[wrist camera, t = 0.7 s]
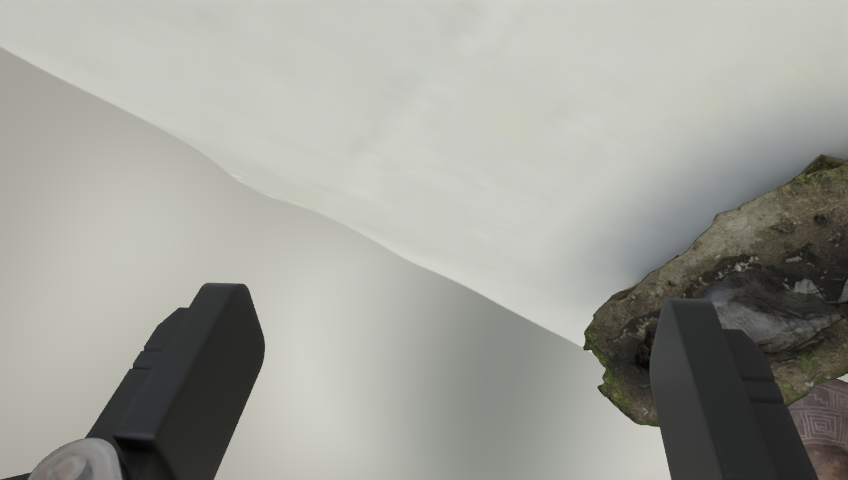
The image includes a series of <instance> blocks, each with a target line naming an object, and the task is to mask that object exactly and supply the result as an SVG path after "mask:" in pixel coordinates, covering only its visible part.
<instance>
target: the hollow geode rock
mask: <svg viewBox="0 0 848 480" xmlns="http://www.w3.org/2000/svg"><path fill="white" fill-rule="evenodd" d="M666 298H680V299H709V300H710V301H711V302H712V303H713V305H714V307H715V310H716V312H717V315H718V318H719V320H720V323H721V326H722V328H723V329H741V330H743V331H744V332H745V333H746V334H747V335H748V336H749V337H750V338H751V339H752V340H753V341H754V342H755V343H756V344H757V346H758V347H759V348H760V349H761V350H762V351H763V352H764V353H765V356H766V358H767V360H768V363H769V365H770V367H771V370H772V372H773V374H774V377H775V383H777V384H778V386H779V388H780V391H781V393H782V395H783V398H784V404H786V405H787V407H788V406H790V405H791V404H793V403H794V402H796V401H798V400H800V399H802V398H804V397H805V396H807V395H808V394H809V393H810V392H811V391H812V389H813V388H815V387H816V386H818V385H820V384H822V383H824V382H827V381H830V380H833V379H836V378H838V377H841V376H844V375H845V374H848V162H846V161H843V160H839V159H834V158H830V157H827V156H824V155H822V154H821V155H820V156H819V157H818V158H816V159H815V160H814V161H813V162H812V163H811V164H810V165H809V166H807V167H806V168H805V169H804V170H803V172H802V173H801V174H800V175H799V176H797V177H795V178H794V179H793V180H791V181H790V182H788V183H786V184H784V185H782V186H779V187H777V188H776V189H774V190H772V191H771V192H768V193H766V194H765V195H763V196H762V197H761V198H758V199H754V200H752V201H750V202H747V203H744V204H742V205H741V206H740V207H738V208H736V209H734V210H730V211H726V212H723V213H720V214H717V215H716V217H715V218H714V221H713V223H712V225H711V226H710V227H709V228H708V229H707V230H706V231H705V232H704V233H703V234H702V235H701V236H700V237H699V238H697V239H696V240H695V242H694V243H693V244H692V246H691V247H690V248H689V250H688V251H686V252H685V253H683V254H682V255H677V256H676V257H675V258H674V259H672V260H671V261H669V262H668V263H667V264H666V265H664V266H663V267H661V268H659V269H658V270H656V271H654V272H652V273H650V274H648V275H647V276H646V278H645V279H643V280H642V281H641V282H640V283H638V284H637V285H636V286H634V287H633V288H630V289H628V290H624V291H621V292H618V293H616V294H614V295H612V297H611V298H610V299H609V300H608V301H607V302H606V303H604V304H603V305H602V306H601V307H600V308H599V309H598V310H597V311H596V312H595V314H594V315H593V317H594V319H593V320H592V322H591V323H590V325H589V326H588V328H587V329H586V330H585V333H584V335H585V338H586V341H585V345H584V347H583V348H584V350H592V352H593V354H594V355H595V356H596V357H597V358H598V359H599V361H600V363H601V364H602V365H603V366H604V367H605V368H606V371H605V373H604V375H603V377H602V378H603V380H604V382H605V383H603V384H602V385H600V386H598V389H599V390H600V392H601V393H602V394H603V395H604V396H605V397H607V398H608V399H609V400H610V401H611V402H612V403H613V405H615V406H616V407H617V408H618V409H619V410H620V411H621V412H622V413H624V414H625V415H626V416H627V417H629V418H630V419H631V420H632V421H633V422H635V423H637V424H640V425H649V426H656V427H660V425H659V421H658V416H657V412H656V407H655V403H654V398H653V394H652V389H651V383H650V356H651V351H652V347H653V342H654V338H655V334H656V329H657V325H658V321H659V317H660V312H661V308H662V304H663V302H664V300H665V299H666Z"/></svg>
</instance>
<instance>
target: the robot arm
mask: <svg viewBox="0 0 848 480" xmlns="http://www.w3.org/2000/svg"><path fill="white" fill-rule="evenodd" d="M264 352H265V342H264V336H263V333H262V329H261V326H260V323H259V320H258V317H257V314H256V311H255V308H254V304H253V301H252V299H251V295H250V292H249V289H248V288H247V286H246V285H244V284H231V283H206V284H204V285H203V286H202V287H201V289H200V290H199V292H198V294H197V295H196V297H195V298H194V300H193V302H192V303H191V305H190V307H189V308H178V309H177V310H176V311H175V312H173V313H172V314H171V315H170V316H169V317H168V318H166V319H165V320H164V321H163V322H162V323H160V324H159V325H158V326H157V328H156V329H155V331H154V332H153V334H152V335H151V337H150V339H149V340H148V341H147V343H146V345H145V346H144V351H141V352H140V354H139V355H138V357H137V359H136V360H135V362H134V363H133V368H132V369H129V371H128V373H127V374H126V376H125V377H124V379H123V381H122V382H121V383H120V385H119V387H118V388H117V390H116V391H115V393H114V394H113V396H112V398H111V399H110V401H109V402H108V404H107V405H106V407H105V408H104V410H103V411H102V413H101V414H100V416H99V418H98V419H97V421H96V423H95V424H94V425H93V427H92V429H91V430H90V432H89V433H88V434H87V436H86V437H85V438H84V439H80V440H76V441H73V442H71V443H68V444H65V445H63V446H61V447H59V448H58V449H56V450H55V451H53V452H52V453H51V454H49V455H48V456H46V457H45V458H44V459H43V460H42V461H41V462H40V463H39V464H38V465H37V467H35V469H34V470H33V471H32V472H31V473H27V474H23V475H19V476H14V477H10V478H6V479H1V480H214V478H215V475H216V473H217V471H218V468H219V466H220V464H221V461H222V459H223V456H224V454H225V452H226V449H227V447H228V445H229V442H230V440H231V437H232V435H233V433H234V431H235V428H236V426H237V424H238V421H239V419H240V416H241V414H242V412H243V409H244V407H245V405H246V402H247V400H248V398H249V395H250V393H251V390H252V388H253V386H254V383H255V381H256V379H257V377H258V374H259V372H260V369H261V367H262V364H263V359H264ZM650 383H651V389H652V394H653V398H654V403H655V407H656V412H657V416H658V421H659V425H660V430H661V434H662V439H663V443H664V448H665V453H666V457H667V462H668V466H669V471H670V475H671V480H819V479H818V477H817V475H816V472H815V470H814V468H813V465H812V463H811V461H810V458H809V456H808V454H807V451H806V449H805V447H804V444H803V442H802V440H801V437H800V435H799V433H798V430H797V428H796V426H795V423H794V421H793V419H792V416H791V414H790V412H789V409H788V407H787V405H786V404H784V398H783V395H782V393H781V391H780V388H779V386H778V384H777V383H775V377H774V374H773V372H772V370H771V367H770V365H769V363H768V360H767V358H766V356H765V353H764V352H763V351H762V350H761V349H760V348H759V347H758V346H757V344H756V343H755V342H754V341H753V340H752V339H751V338H750V337H749V336H748V335H747V334H746V333H745V332H744V331H743V330H741V329H723V328H722V326H721V323H720V320H719V318H718V315H717V312H716V310H715V307H714V305H713V303H712V302H711V301H710V300H709V299H680V298H666V299H665V300H664V302H663V304H662V308H661V312H660V317H659V321H658V325H657V329H656V334H655V338H654V342H653V347H652V351H651V356H650Z"/></svg>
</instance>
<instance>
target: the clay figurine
mask: <svg viewBox="0 0 848 480" xmlns="http://www.w3.org/2000/svg"><path fill="white" fill-rule="evenodd" d="M788 409H789V412H790V414H791V416H792V419H793V421H794V423H795V426H796V428H797V430H798V433H799V435H800V437H801V440H802V442H803V444H804V447H805V449H806V451H807V454H808V456H809V458H810V461H811V463H812V465H813V468H814V470H815V472H816V475H817V477H818V479H819V480H848V383H847V382H844V381H842V380H839V379H833V380H830V381H827V382H824V383H822V384H820V385H818V386H816V387H815V388H813V389H812V391H811V392H810V393H809V394H808V395H807V396H805V397H804V398H802V399H800V400H798V401H796V402H794V403H793V404H791V405H790V406H788Z"/></svg>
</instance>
